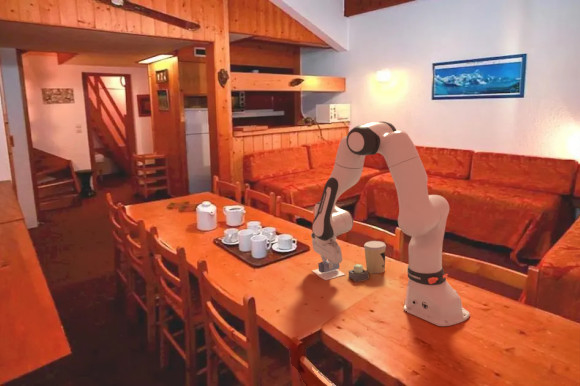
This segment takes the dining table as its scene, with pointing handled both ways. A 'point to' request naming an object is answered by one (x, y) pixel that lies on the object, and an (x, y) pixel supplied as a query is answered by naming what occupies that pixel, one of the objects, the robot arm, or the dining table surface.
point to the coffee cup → (375, 256)
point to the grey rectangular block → (327, 266)
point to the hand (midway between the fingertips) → (327, 266)
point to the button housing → (358, 276)
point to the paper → (328, 274)
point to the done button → (358, 269)
